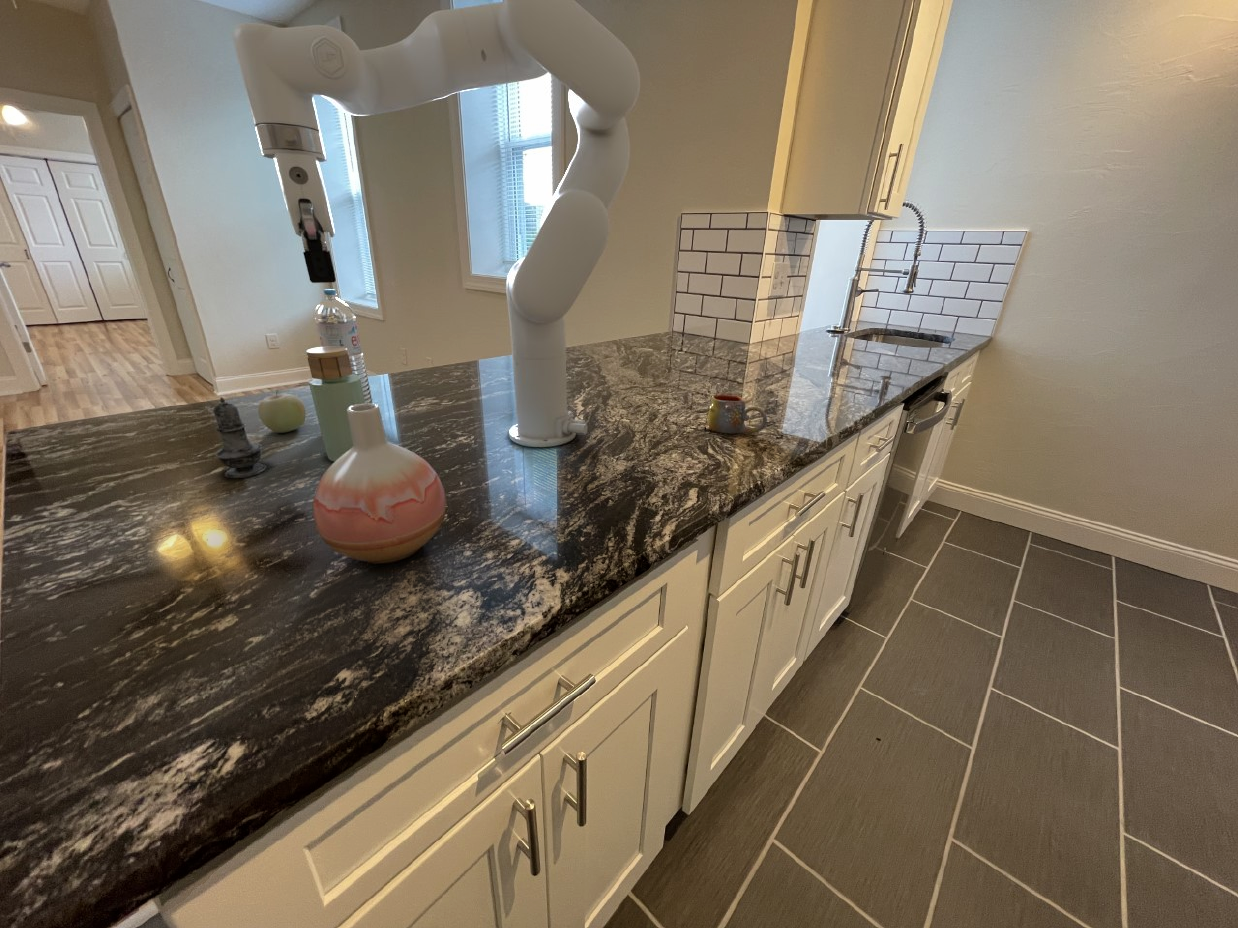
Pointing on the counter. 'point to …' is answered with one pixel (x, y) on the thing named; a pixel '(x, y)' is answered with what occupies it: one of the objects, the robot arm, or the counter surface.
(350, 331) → the water bottle
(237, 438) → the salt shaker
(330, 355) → the cap
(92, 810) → the counter surface
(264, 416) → the fruit
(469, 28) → the robot arm
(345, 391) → the ceramic bottle
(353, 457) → the vase
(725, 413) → the mug
